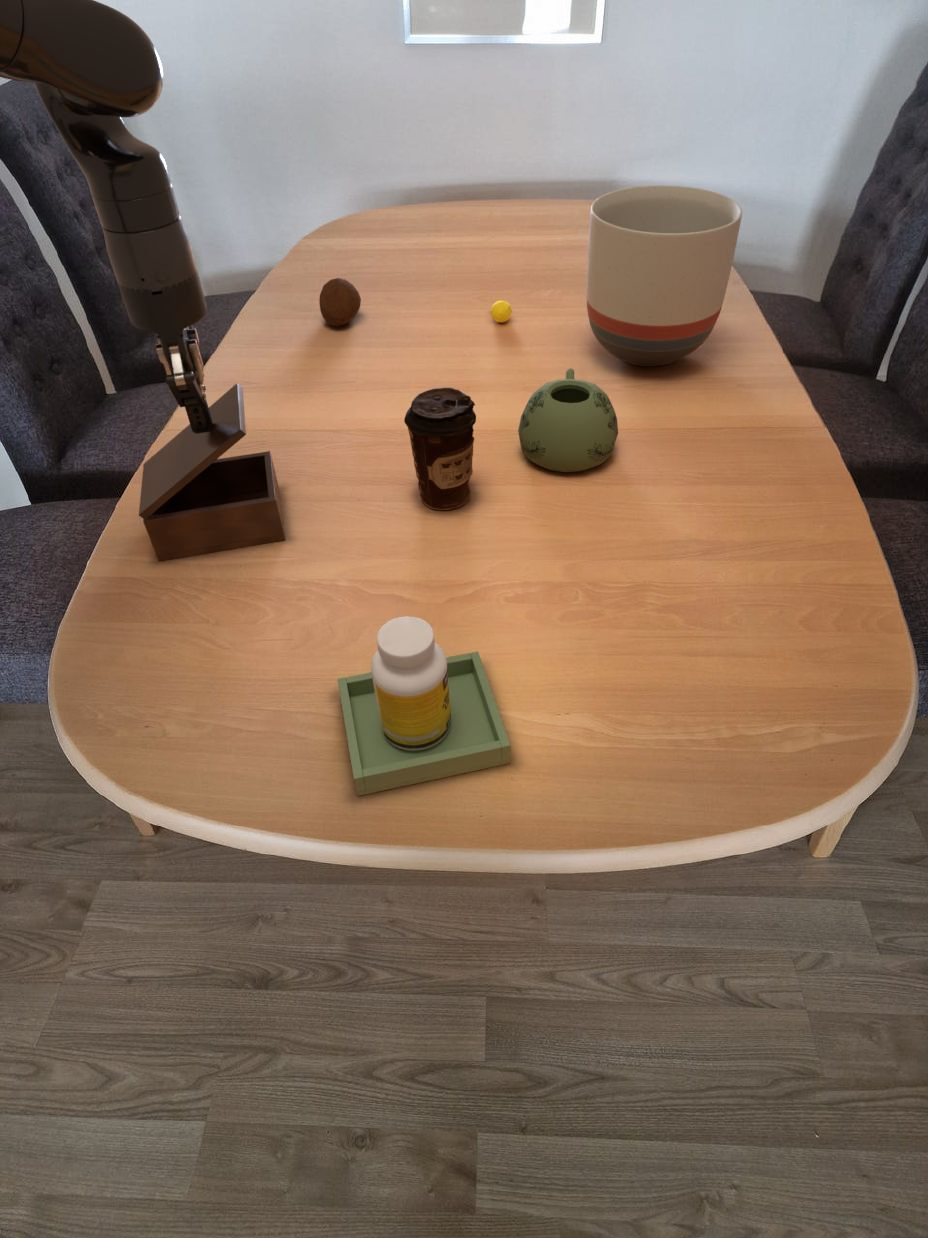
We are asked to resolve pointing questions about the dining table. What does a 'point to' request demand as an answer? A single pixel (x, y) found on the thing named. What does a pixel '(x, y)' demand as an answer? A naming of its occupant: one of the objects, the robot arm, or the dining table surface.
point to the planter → (658, 269)
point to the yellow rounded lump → (501, 311)
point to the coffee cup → (442, 446)
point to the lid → (192, 452)
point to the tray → (462, 750)
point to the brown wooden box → (220, 510)
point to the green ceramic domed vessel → (568, 425)
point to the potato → (339, 301)
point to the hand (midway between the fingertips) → (203, 429)
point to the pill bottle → (411, 684)
